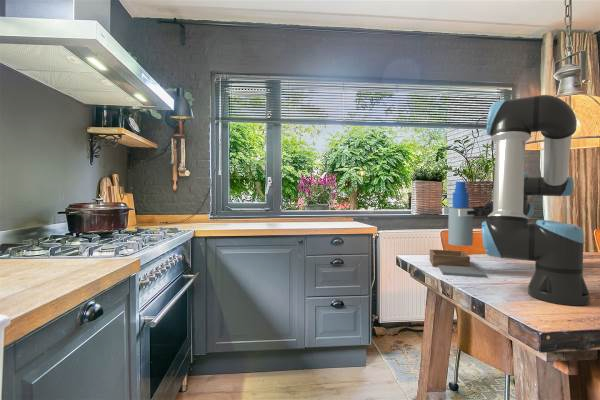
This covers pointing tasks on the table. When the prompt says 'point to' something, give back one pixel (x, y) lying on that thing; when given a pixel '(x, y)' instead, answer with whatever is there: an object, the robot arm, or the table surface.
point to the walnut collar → (449, 258)
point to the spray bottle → (460, 218)
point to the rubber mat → (461, 271)
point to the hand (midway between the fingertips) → (450, 211)
